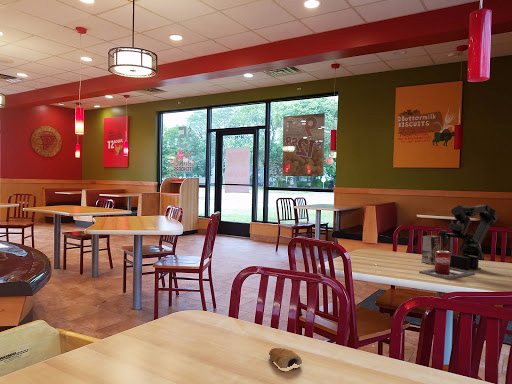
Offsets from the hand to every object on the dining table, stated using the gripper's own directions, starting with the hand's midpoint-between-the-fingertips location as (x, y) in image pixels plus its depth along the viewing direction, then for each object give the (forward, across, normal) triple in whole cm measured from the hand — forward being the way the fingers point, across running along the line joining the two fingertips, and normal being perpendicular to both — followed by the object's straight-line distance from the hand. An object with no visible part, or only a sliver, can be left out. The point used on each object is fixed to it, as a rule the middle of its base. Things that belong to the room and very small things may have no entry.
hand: (451, 249), depth 206 cm
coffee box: (+1, -21, +20) cm, 29 cm away
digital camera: (0, -4, +22) cm, 22 cm away
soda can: (+15, 0, +1) cm, 15 cm away
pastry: (+96, +35, -106) cm, 147 cm away
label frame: (+12, 0, +5) cm, 13 cm away
